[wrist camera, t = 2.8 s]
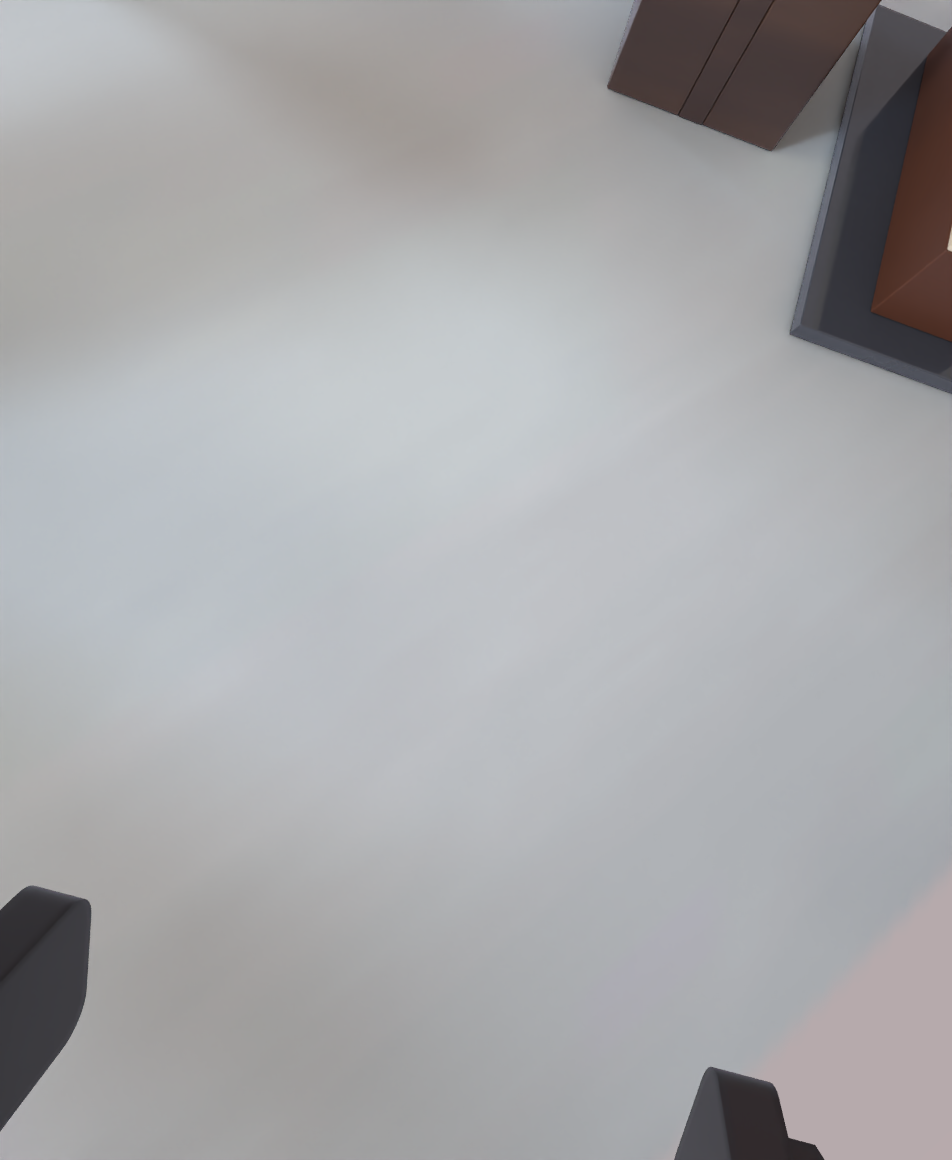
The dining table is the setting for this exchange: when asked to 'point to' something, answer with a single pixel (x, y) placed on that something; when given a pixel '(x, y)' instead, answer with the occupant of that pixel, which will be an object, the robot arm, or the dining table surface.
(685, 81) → the knife block
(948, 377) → the cake board
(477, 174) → the dining table surface
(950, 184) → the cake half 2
